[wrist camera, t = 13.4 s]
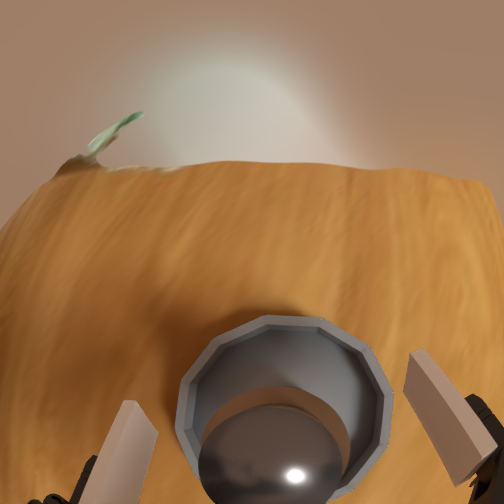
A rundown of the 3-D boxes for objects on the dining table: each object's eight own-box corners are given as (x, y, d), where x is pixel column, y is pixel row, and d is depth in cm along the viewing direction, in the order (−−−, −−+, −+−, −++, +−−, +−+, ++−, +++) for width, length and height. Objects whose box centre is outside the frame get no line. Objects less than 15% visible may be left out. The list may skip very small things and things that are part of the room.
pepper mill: (245, 446, 16) (173, 518, 5) (253, 383, 18) (189, 374, 7) (316, 452, 15) (345, 538, 4) (324, 387, 18) (373, 388, 6)
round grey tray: (180, 482, 15) (168, 490, 13) (202, 316, 22) (192, 308, 20) (367, 498, 13) (374, 508, 11) (384, 325, 19) (394, 317, 17)
